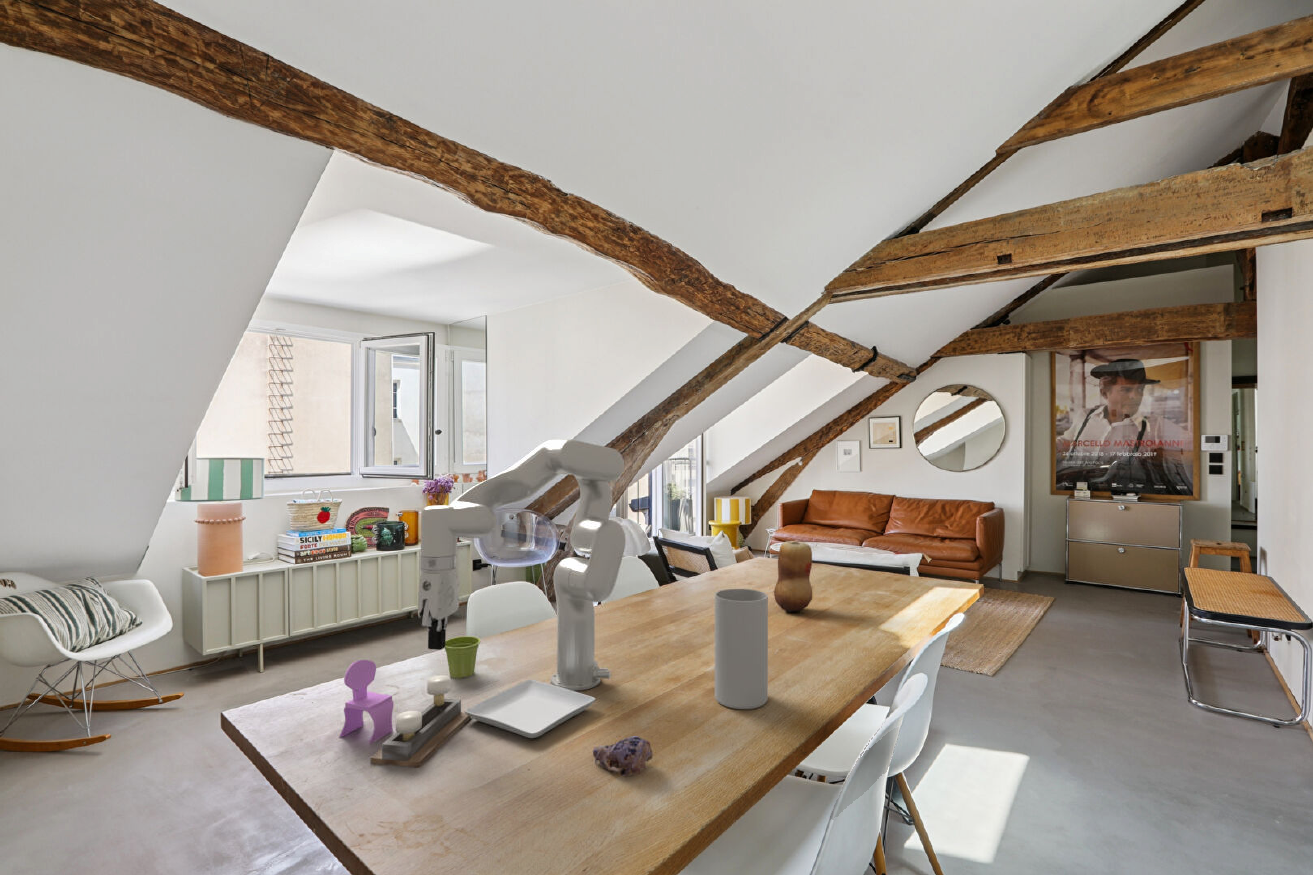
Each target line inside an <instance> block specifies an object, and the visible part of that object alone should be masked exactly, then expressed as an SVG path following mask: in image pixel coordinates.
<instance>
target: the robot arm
mask: <svg viewBox="0 0 1313 875" xmlns="http://www.w3.org/2000/svg"><path fill="white" fill-rule="evenodd" d="M624 470H625V460H624V458H623V456H622V454H621V453H620V452H619V450H616V449H614V448H613V447H608V446H602V445H598V444H594V443H589V442H584V441H580V440H576V439H558V438H557V439H550V440H547V441H545V442H543V443H542V444H540V445H539V446H537V447H536V448H535V449H534V450H532V451H530V453H528V454H527V455H525V456H524V457H522V458H521V459H520V460H519V461H517V462H516V463H515V464H513V465H512V466H511V467H509V468H508V469H506V470H504V471H502V472H500V473H498V474H496V475H493V476H492V477H489V478H488V479H486V480H484V481H482V482H480V483H478V484H476V485H474V486H473V487H470V488H469V489H468V490H466V491H465V492H464V493H462V494H461V495H459V496H458V497H457V498H456V499H455V500H453V501H452V502H450V503H449V505H444V504H442V505H439V504H438V505H436V504H435V505H428V506H425V507H424V508H423V509H422V512H421V513H420V514H421V519H420V554H419V555H420V558H419V559H420V560H419V562H420V563H419V571H420V578H419V582H418V583H419V586H418V594H417V595H418V596H417V615H418V618H420V619H421V622H422V623H421V627H426V631H427V632H428V635H427V648H428V649H429V650H436V651H437V650H438V651H439V650H442V649H445V641H446V637H447V636H446V635H447V634H446V633H447V632H446V631H447V626H448V620H449V617H450V616H451V615H452V614H455V612H457V611H458V610H459V608H460V589H459V587H460V585H459V576H458V570H457V568H458V566H457V565H458V539H459V538H461V539H462V538H464V539H465V538H466V539H467V538H468V539H481V538H484V537H487V536H488V535H490V534H492V532H493V531H495V528H496V525H497V516H496V513H495V512H494V510H495V509H497V508H500V507H503V506H505V505H510V504H514V503H518V502H522V501H525V500H527V499H530V498H532V497H533V496H534V495H535V494H536V493H537V492H539V491H541V489H543V488H544V487H546V485H547V484H549V483H550V482H552V481H553V480H554V479H555V478H557V476H559V475H569V476H570V475H571V476H574V477H575V480H576V482H577V484H578V487H579V492H580V493H579V494H580V496H579V502H578V506H577V509H576V513H575V517H574V520H573V523H572V527H571V531H570V536H569V542H570V546H571V547H572V549H574V550H575V551H577V552H579V553H582V554H585V555H589V558H588V559H587V558H581V557H575V556H569V557H565V558H564V559H562V560H560V562H558V564H557V565H556V567H555V568H554V572H553V575H552V576H553V579H552V580H553V587H554V594H555V600H556V672H555V673H554V674H552V675H551V677H550V684H551V685H554V686H558V687H561V688H565V689H568V690H572V691H575V692H579V691H585V690H590V689H592V688H594V687H596V686H597V685H598V686H599V684H600V683H601V679H606V680H607V679H609V680H610V679H611V674H612V673H611V670H609V668H608V667H600V666H598V665H599V664H598V662H599V661H595V619H596V618H595V606H594V603H601V602H603V601H605V600H607V599H608V598H609V597H610V596H611V594H612V592H613V591H614V589H615V586H616V583H617V580H618V577H619V576H618V575H619V571H620V568H621V564H622V560H623V557H624V553H625V548H626V533H625V530H624V528H623V526H622V525H621V523H619V522H617V521H616V520H612V519H609V518H610V514H611V511H612V504H613V493H612V488H611V485H610V482H613V481H617V480H618V479H619V478H620V477H621V476H622V474H623V472H624Z"/></svg>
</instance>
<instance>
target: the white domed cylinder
mask: <svg viewBox="0 0 1313 875" xmlns="http://www.w3.org/2000/svg"><path fill="white" fill-rule="evenodd" d="M421 727H422V713H421V711H419V710H407V711H404V712H400V713H399V714H397V715H396V716H395V733H397V732H398V733H402V734H403V742H408V741H409V740H410V739H411V738H412V737H413V736H415V732H416V731H418V730H419V729H421Z"/></svg>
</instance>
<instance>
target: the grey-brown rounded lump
mask: <svg viewBox="0 0 1313 875" xmlns="http://www.w3.org/2000/svg"><path fill="white" fill-rule="evenodd" d="M653 753H654V752H653V750H652V747H651V742H650V741H648V740H646V739H643V738H642V737H641V736H640V737H639V736H637V735H633V736H632V735H631V736H629V737H626V738H624V739H622V740H621V739H620V740H619V741H616V742H614V744H610V745H598V746H595V747H594V748H593V750H592V755H593V757H594V758H595V759H594V760H595V761H594V762H595V764H597V762H598V761H599V765H600V766H601V767H602V768H604V769H605V770H608V771H611V772H616V773H620V775H621V776H622V777H629V776H634V775H635V776H636V775H637V774H640V773H641V772H642V770H643V769H645V768H646V767H647V766H646V763H647V762H649V761H650V760H652V759H653ZM617 766H618V767H617Z"/></svg>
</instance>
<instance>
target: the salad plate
mask: <svg viewBox="0 0 1313 875" xmlns="http://www.w3.org/2000/svg"><path fill="white" fill-rule="evenodd" d="M595 701H596V698H595V697H593V696H591V695H588V694H585V693H582V692H579V691H572V690H568V689H565V688H561V687H558V686H554V685H551V683H546V682H543V681H540V680H539V681H538V680H535V679H530V678H529V679H527V680H525V681H523V682H520V683H518V684H516V685H513V686H512V687H510V688H507V689H505V690H502V691H501V692H499V693H497V694H495V695H492V696H490V697H488V698H485V699H484V700H482V701H480V702H477V703H476V704H473V705H472V706H470V707H467V708H466V709H465V710H464V711H463V712H464V713H466V714H467V715H468V716H469V717H471V718H470V719H473V720H475V721H478V722H480V723H481V722H482V723H484V724H488V725H491V726H494V727H497V728H500V729H502V730H505V731H509V732H512V733H514V734H518V735H520V736H523V737H525V738H529V739H535V738H539V737H541V736H542V735H544V734H546V733H548V732H549V731H550V730H552V729H554V728H555V727H557V726H559V725H561V724H562V723H564V722H566V721H567V720H569V719H571V718H572V717H575V716H576V715H578V714H580V713H582V712H584V711H585V710H587V709H588V708H589V707H591V706H592V705H593V704H594V703H595Z"/></svg>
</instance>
